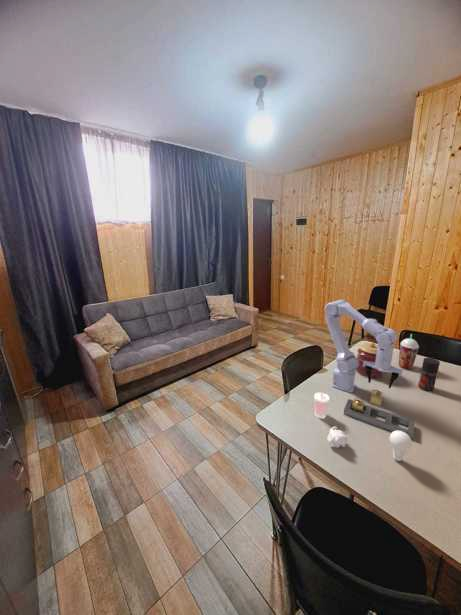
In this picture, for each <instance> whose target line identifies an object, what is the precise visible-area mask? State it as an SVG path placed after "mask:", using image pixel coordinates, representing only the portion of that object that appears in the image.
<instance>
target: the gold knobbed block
mask: <svg viewBox="0 0 461 615" xmlns="http://www.w3.org/2000/svg"><path fill="white" fill-rule="evenodd" d="M365 403H366V402H364V401H362V400H359V399H356V398H354V399H353V403H352V407H351V410H354V411H356V412H359V413H362V414H364V411H363V410H364V404H365Z"/></svg>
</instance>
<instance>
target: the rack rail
mask: <svg viewBox="0 0 461 615" xmlns="http://www.w3.org/2000/svg"><path fill="white" fill-rule="evenodd" d="M353 401H354V399H353V400H352V399H350V398H348V399H347V401H346V404H345V406H344V408H343V415H346V416H348V417H350V418H353V419H356V420H359V421H362V422H364V423H367V424H369V425H372V426H375V427H378V428H380V429H383V430H386V431H389V432H390V433H392V432H394V431H397V430H399V431H403V432H405V433H406V434H408V436H409V437H410V438H411V440H412V441H413V439H414V435H415V420H412V419H409V418H406V417H404V416H401V415H398V414H394V413H391V412H389V411H385V410H383V409H379V408H376V407H374V406H372V405H371V406H370V405H368V404H365V403H364V410H363V414H362V413H359V412H356V411H354V410H352V403H353ZM371 415H374V416H377V417H380V418H383V419H385V420H381V419H379V418H375V417H373V416H371ZM392 422H394V423H397V424H400V425H403V426H406V427H407V428H404V427H400V426H398V425H396V424H392Z"/></svg>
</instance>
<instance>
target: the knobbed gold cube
mask: <svg viewBox="0 0 461 615" xmlns="http://www.w3.org/2000/svg"><path fill="white" fill-rule="evenodd" d="M370 395H371V396H370V404H372V405H374V406H378V407H381V404H382V400H383V395H384V392H383V391H380V390H378V389H377V390H376V389H372V390H371V394H370Z"/></svg>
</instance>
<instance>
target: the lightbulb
mask: <svg viewBox="0 0 461 615" xmlns="http://www.w3.org/2000/svg"><path fill="white" fill-rule="evenodd" d="M389 441H390V442H389V443H390V444H391V446H392V457H393V459H394V460H396V461H398V462H402V460H403V457H404V456H405V454H406V452H408V451H409V450H411V448H412V446H413V440H412V439H411V438H410V437H409V436H408V434H406V433H405V432H403V431H399V430H397V431H394V432H390V435H389Z"/></svg>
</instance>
